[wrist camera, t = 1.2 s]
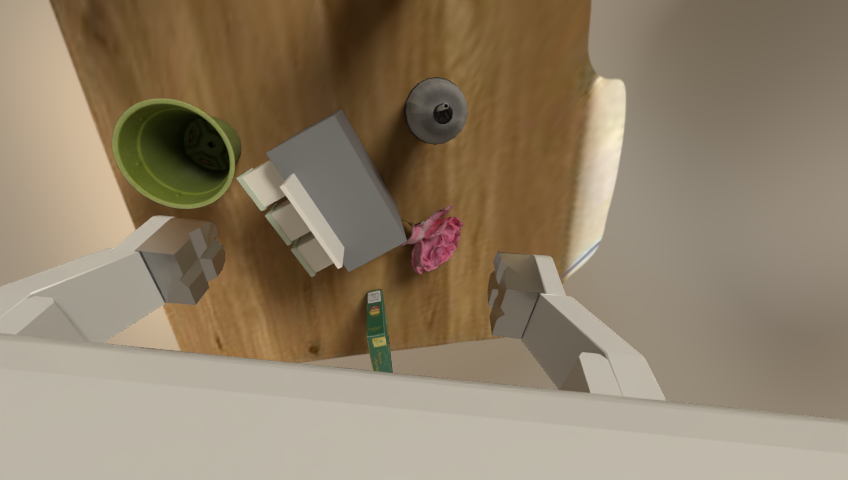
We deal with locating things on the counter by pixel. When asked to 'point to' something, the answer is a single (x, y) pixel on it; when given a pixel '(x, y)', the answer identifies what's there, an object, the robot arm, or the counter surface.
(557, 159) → the counter surface
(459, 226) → the flower
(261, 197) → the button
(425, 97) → the beverage cup
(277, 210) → the white and green block
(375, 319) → the coffee box
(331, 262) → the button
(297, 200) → the pattern placard
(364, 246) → the grey box
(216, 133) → the plant pot
